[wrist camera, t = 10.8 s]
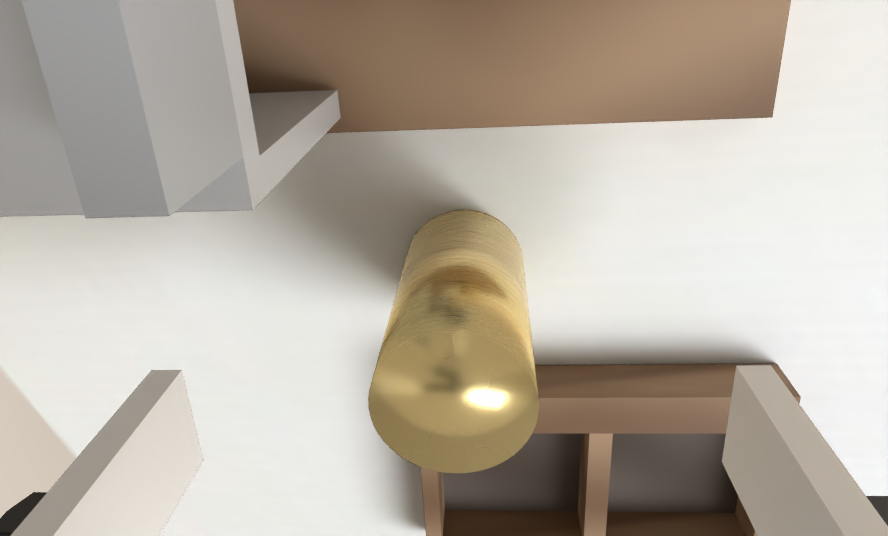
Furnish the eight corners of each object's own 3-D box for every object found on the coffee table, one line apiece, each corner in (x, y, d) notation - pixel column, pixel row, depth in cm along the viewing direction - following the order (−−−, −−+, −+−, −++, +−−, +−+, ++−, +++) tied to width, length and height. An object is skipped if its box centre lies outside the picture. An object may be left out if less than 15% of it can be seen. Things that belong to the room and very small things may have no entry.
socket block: (420, 366, 25) (414, 398, 23) (776, 363, 24) (800, 396, 22) (432, 533, 28) (429, 572, 26) (743, 536, 27) (761, 577, 25)
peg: (402, 211, 22) (360, 334, 15) (522, 208, 22) (539, 332, 14) (411, 316, 24) (376, 473, 16) (523, 314, 23) (538, 473, 16)
